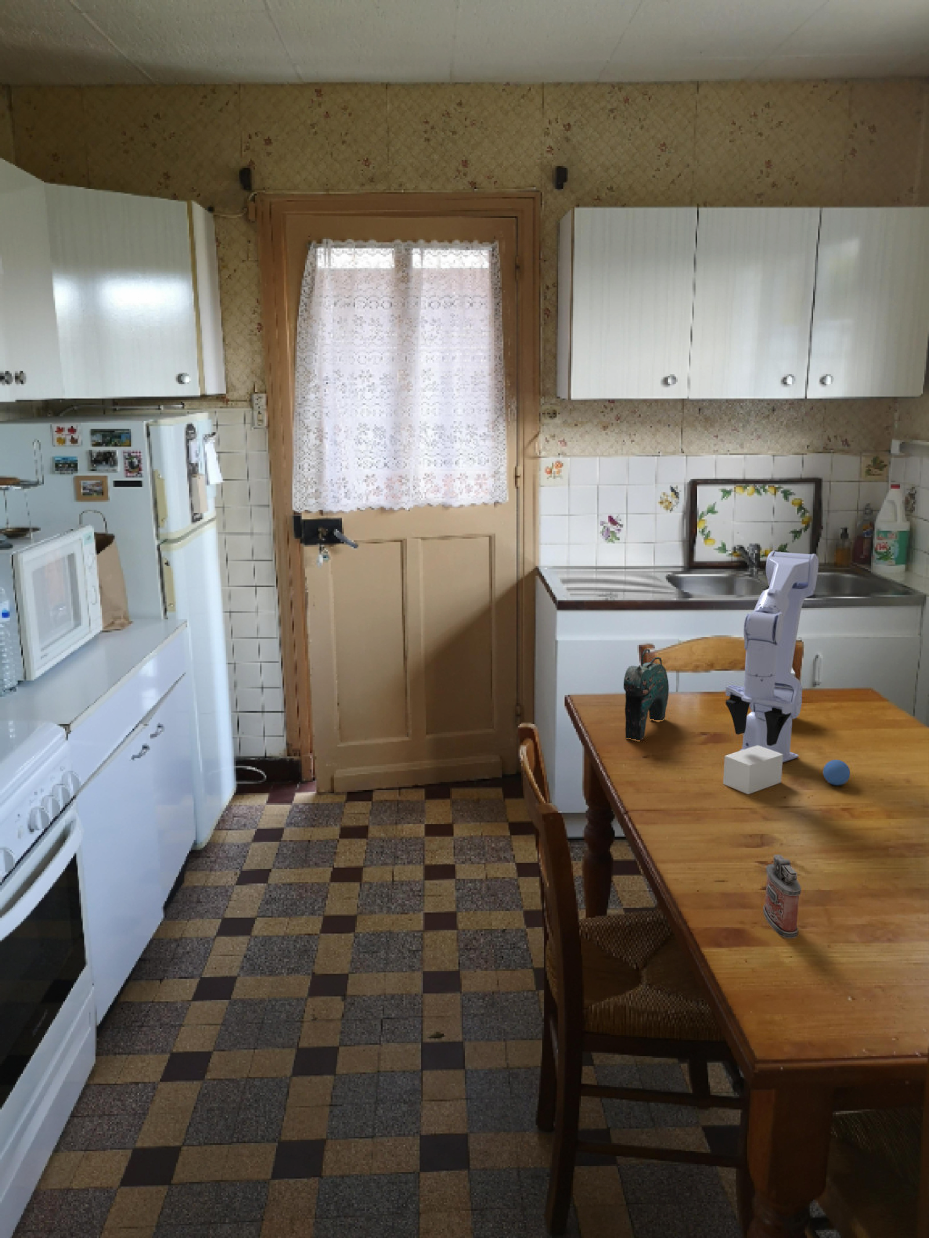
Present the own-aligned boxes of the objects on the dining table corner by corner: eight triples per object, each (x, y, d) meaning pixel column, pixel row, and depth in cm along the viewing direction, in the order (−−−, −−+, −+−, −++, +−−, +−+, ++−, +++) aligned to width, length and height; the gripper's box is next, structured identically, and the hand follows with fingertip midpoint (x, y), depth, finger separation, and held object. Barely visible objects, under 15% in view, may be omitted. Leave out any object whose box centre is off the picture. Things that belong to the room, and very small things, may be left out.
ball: (816, 783, 190) (818, 759, 189) (832, 777, 193) (834, 754, 192) (838, 791, 186) (841, 767, 185) (854, 785, 189) (856, 761, 188)
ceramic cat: (641, 745, 211) (644, 659, 206) (614, 740, 214) (616, 655, 210) (672, 719, 227) (676, 638, 223) (647, 715, 231) (649, 635, 226)
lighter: (758, 909, 144) (762, 848, 142) (779, 907, 145) (784, 847, 142) (779, 938, 137) (784, 875, 134) (802, 937, 137) (807, 874, 134)
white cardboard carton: (748, 794, 185) (749, 765, 184) (723, 783, 190) (724, 755, 189) (781, 782, 191) (783, 754, 189) (755, 772, 196) (757, 745, 194)
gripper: (717, 667, 188) (713, 732, 191) (778, 685, 177) (773, 753, 180) (740, 662, 192) (736, 725, 195) (801, 678, 181) (796, 746, 184)
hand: (755, 738), depth 188 cm, fingers open, 7 cm apart
